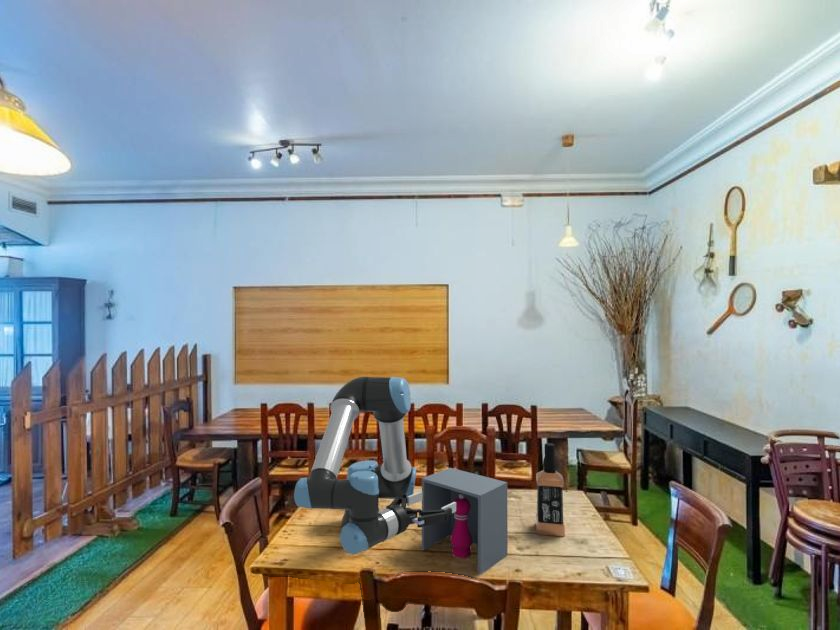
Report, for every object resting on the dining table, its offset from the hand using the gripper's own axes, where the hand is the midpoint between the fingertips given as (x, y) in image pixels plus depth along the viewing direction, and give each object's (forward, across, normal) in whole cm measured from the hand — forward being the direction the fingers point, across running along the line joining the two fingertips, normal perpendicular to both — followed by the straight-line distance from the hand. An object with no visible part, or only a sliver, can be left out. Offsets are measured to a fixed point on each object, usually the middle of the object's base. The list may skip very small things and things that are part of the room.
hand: (438, 500), depth 143 cm
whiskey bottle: (+50, +14, -21) cm, 56 cm away
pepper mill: (+13, 0, -21) cm, 25 cm away
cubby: (+14, 0, -21) cm, 25 cm away
